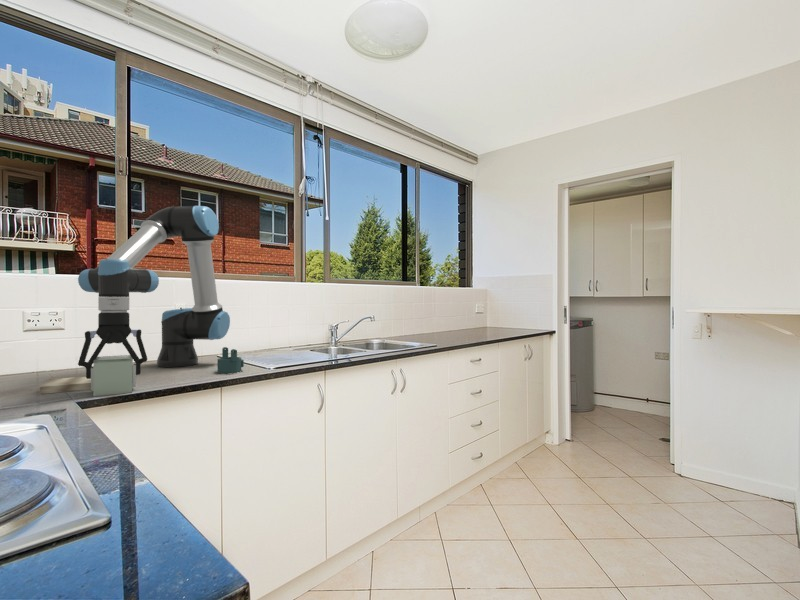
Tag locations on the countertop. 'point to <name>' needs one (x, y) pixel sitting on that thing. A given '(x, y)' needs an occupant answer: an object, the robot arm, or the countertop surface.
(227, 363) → the bracket
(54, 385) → the birch board
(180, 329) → the robot arm
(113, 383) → the sage green cube
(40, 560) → the countertop surface
